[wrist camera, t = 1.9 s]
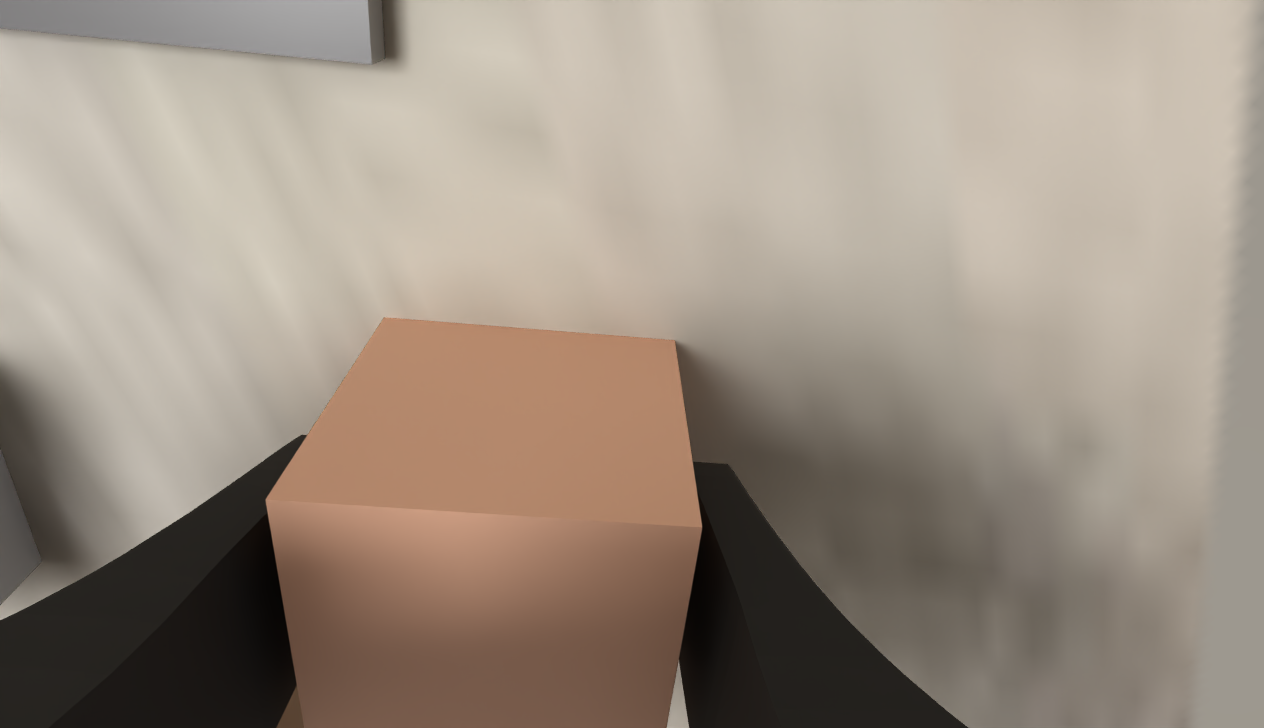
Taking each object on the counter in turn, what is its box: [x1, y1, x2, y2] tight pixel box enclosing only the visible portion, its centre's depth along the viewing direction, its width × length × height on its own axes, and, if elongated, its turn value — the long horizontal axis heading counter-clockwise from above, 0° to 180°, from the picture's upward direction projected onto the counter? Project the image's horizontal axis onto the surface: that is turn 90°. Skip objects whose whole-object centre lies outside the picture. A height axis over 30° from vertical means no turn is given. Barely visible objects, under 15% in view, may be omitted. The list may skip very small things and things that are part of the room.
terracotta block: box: [266, 318, 702, 728], centre depth 11 cm, size 4×4×4 cm
